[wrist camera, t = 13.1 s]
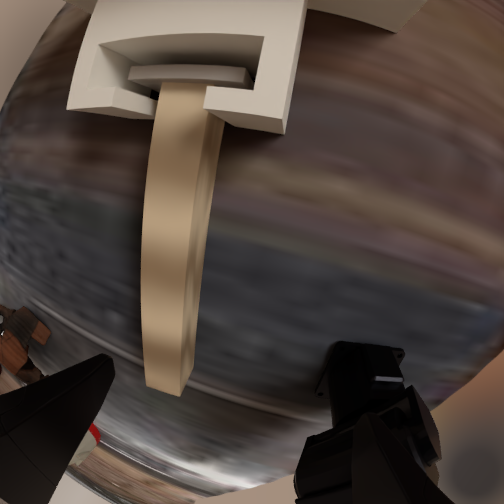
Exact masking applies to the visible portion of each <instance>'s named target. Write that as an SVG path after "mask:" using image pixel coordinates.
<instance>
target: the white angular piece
mask: <svg viewBox="0 0 504 504" xmlns="http://www.w3.org/2000/svg"><path fill="white" fill-rule="evenodd" d="M64 1H66V2H68V3H70V4H72V5H74V6H76V7H78V8H80V9H82V10H84V11H86V12H88V13H90V14H92V16H91V19H90V22H89V24H88V27H87V30H86V33H85V36H84V39H83V42H82V45H81V49H80V52H79V56H78V59H77V63H76V67H75V71H74V75H73V79H72V83H71V88H70V93H69V98H68V103H67V109H66V110H73V111H82V112H90V113H98V114H105V115H111V116H118V117H124V118H130V119H155V116H156V110H157V105H158V101H156V100H154V99H151V98H150V95H151V90H152V89H150V88H147V87H145V86H143V85H140V84H138V83H135V82H133V81H130V80H128V76H129V72H130V68H131V67H132V66H146V65H172V64H191V65H217V66H231V67H242V68H246V69H247V71H248V73H249V75H250V77H256V80H255V85H254V90H245V89H236V88H226V87H214V86H207V90H206V95H205V100H204V105H203V109H205V110H207V111H208V112H210V113H212V114H214V115H216V116H217V117H219V118H221V119H223V120H224V121H226V122H228V123H230V124H231V125H233V126H235V127H241V128H248V129H255V130H261V131H267V132H272V133H278V134H283V135H284V134H285V129H286V123H287V118H288V113H289V107H290V102H291V96H292V91H293V85H294V80H295V74H296V69H297V63H298V58H299V52H300V47H301V41H302V35H303V30H304V24H305V18H306V12H307V8H308V9H313V10H318V11H323V12H328V13H332V14H336V15H340V16H344V17H348V18H352V19H355V20H359V21H362V22H365V23H369V24H372V25H375V26H378V27H381V28H384V29H386V30H389V31H392V32H394V33H398V31H399V30H400V29H401V28H402V27H403V26H404V25H405V24H406V23H407V22H408V21H409V20H410V19H411V18H412V17H413V15H414V14H415V13H416V12H417V11H418V10H419V9H420V8H421V7H422V6H423V5H424V4H425V3H426V2H427V1H428V0H64Z"/></svg>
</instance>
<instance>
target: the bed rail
mask: <svg viewBox="0 0 504 504" xmlns="http://www.w3.org/2000/svg"><path fill="white" fill-rule="evenodd" d="M128 80H130V81H133V82H135V83H138V84H140V85H143V86H145V87H147V88H150V89H152V90H155V91H157V92H159V93H160V95H159V100H158V105H157V110H156V116H155V122H154V127H153V134H152V140H151V147H150V154H149V162H148V170H147V179H146V189H145V199H144V212H143V227H142V249H141V319H142V340H143V355H144V367H145V378H146V386H148V387H151V388H154V389H157V390H160V391H163V392H166V393H169V394H172V395H175V396H178V397H180V396H181V393H182V391H183V389H184V387H185V384H186V382H187V380H188V378H189V376H190V373H191V371H192V369H193V365H194V351H195V339H196V328H197V317H198V307H199V297H200V287H201V278H202V270H203V261H204V253H205V245H206V237H207V230H208V223H209V215H210V208H211V202H212V195H213V188H214V182H215V176H216V169H217V163H218V157H219V151H220V146H221V140H222V134H223V129H224V123H225V121H224V120H223V119H221V118H219V117H217V116H216V115H214V114H212V113H210V112H208V111H207V110H205V109H203V105H204V100H205V95H206V90H207V86H214V87H226V88H236V89H245V90H254V83H253V81H252V79H251V77H250V75H249V73H248V71H247V69H246V68H242V67H231V66H217V65H191V64H172V65H146V66H132V67H131V68H130V72H129V76H128Z"/></svg>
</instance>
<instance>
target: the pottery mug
mask: <svg viewBox="0 0 504 504" xmlns="http://www.w3.org/2000/svg"><path fill="white" fill-rule="evenodd" d="M0 315H2V316H3V322H2V323H1V324H0V362H1V364H2V365H3V366H5V367H6V368H7V369H8V370H9V371H10V372H11V373H12V374H13V375H15V376H16V377H17V378H18V379H19V380H21V381H22V382H24V383H25V384H27V385H29V384H31V383H34V382H36V381H39V380H41V379H43V378H46V377H48V376H49V375H46V376H44V375H43V374H42V372H41V371H40V370H39V369H38V368H37V367H36V366H35V365H34V364H33V362H32V360H31V359H30V358H29V356H28V350H29V346H28V345H27V344H28V341H29V339H30V338H31V337H32V338H33V339H35V340H36V341H38V342H39V343H40V344H41V345H45V344H46V342H47V339H48V338H49V336H50V334H51V331H50V330H49V329H48V328H47V327H46V326H45V325H44V324H43V323H41V322H40V321H39V320H38V319H37V318H36V317H35V316H34V314H33V313H32V312H30V311H29V310H28V309H27V308H26V307H24V306H23V307H22V308H21V309H19V310H17V311H16V310H15V309H13V310H10V309H7V308H6V307H4V306H2V305H0ZM3 331H4V333H3V336H2V335H1V333H2V332H3Z"/></svg>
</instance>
